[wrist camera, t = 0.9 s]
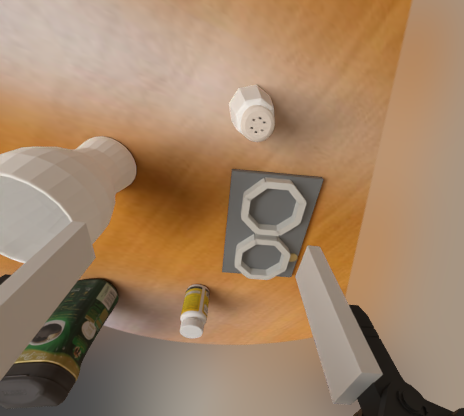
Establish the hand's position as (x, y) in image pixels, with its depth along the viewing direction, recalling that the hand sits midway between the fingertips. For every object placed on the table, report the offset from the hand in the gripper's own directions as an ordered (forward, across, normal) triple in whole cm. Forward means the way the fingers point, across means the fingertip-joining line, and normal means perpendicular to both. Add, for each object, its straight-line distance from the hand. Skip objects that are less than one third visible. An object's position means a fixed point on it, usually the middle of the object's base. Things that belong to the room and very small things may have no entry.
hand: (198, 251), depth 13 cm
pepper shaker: (+20, +3, +6) cm, 21 cm away
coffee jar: (+20, -23, -32) cm, 44 cm away
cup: (+20, -15, -3) cm, 25 cm away
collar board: (+19, +9, -12) cm, 24 cm away
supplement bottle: (+20, -2, -29) cm, 35 cm away
